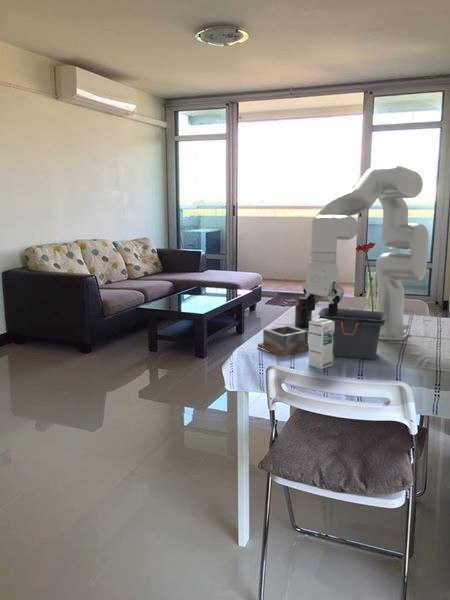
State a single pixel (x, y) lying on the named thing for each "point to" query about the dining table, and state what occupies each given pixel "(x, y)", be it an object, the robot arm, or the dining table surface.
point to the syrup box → (321, 343)
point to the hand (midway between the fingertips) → (321, 313)
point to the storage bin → (355, 332)
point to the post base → (284, 340)
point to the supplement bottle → (302, 314)
